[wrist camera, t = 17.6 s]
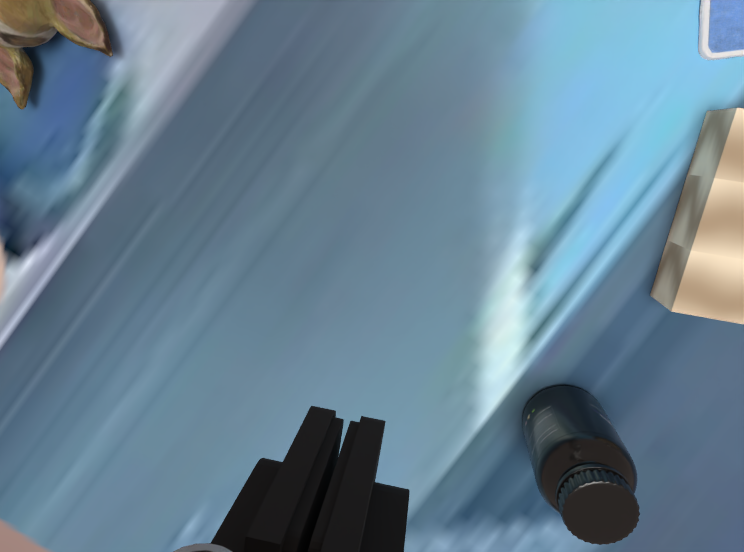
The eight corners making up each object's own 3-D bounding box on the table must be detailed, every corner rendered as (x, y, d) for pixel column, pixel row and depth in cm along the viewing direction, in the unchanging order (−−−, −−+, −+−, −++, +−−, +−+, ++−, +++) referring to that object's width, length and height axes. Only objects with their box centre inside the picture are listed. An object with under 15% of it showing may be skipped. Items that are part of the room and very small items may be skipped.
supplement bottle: (618, 401, 44) (680, 494, 32) (580, 465, 45) (626, 575, 34) (541, 370, 44) (575, 452, 32) (506, 435, 46) (528, 535, 34)
